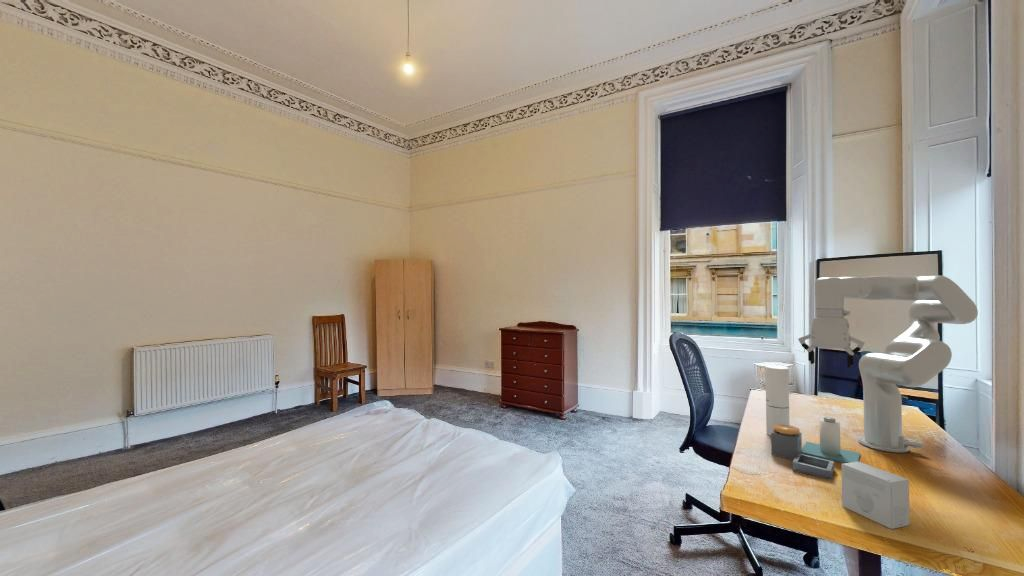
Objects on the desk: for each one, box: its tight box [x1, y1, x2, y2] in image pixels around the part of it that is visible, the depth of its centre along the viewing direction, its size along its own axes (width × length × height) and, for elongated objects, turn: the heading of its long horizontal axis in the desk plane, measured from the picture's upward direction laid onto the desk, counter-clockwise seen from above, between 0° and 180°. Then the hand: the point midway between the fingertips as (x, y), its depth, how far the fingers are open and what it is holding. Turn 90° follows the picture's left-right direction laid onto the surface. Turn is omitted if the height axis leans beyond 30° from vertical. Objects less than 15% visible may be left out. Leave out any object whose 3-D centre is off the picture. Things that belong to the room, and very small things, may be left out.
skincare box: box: [840, 461, 911, 530], centre depth 93 cm, size 10×6×10 cm, turn 17°
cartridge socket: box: [791, 453, 835, 481], centre depth 116 cm, size 9×9×2 cm
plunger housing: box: [770, 430, 803, 461], centre depth 128 cm, size 7×7×7 cm
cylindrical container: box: [764, 364, 791, 436], centre depth 145 cm, size 7×7×25 cm
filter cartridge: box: [819, 416, 842, 456], centre depth 128 cm, size 5×5×11 cm
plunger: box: [773, 424, 801, 436], centre depth 128 cm, size 7×7×5 cm
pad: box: [802, 441, 861, 464], centre depth 128 cm, size 14×12×1 cm
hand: (830, 365), depth 132 cm, fingers open, 9 cm apart
